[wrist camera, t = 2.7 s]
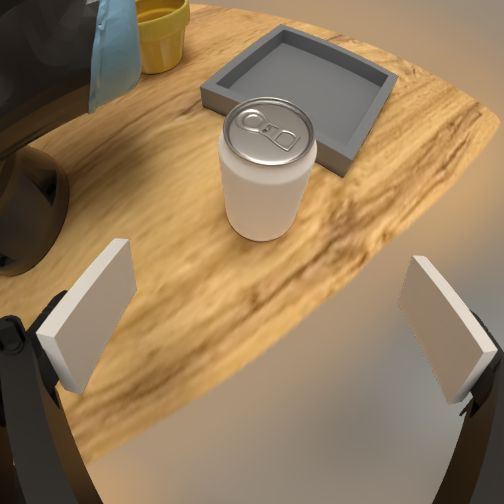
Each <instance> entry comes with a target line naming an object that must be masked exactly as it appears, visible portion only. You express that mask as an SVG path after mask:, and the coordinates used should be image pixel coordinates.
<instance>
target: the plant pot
mask: <svg viewBox="0 0 504 504" xmlns="http://www.w3.org/2000/svg"><path fill="white" fill-rule="evenodd" d="M135 4H136V13H137V22H138V31H139V41H140V52H141V68H142V69H141V72H143V73H146V74H156V73H161V72H164V71H167V70H169V69H171V68H173V67H175V66H176V65H177V64H178V63H179V62H180V61H181V59H182V53H183V43H184V34H185V27H186V26H187V25H188V23H189V21H190V8H189V1H188V0H135Z"/></svg>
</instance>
